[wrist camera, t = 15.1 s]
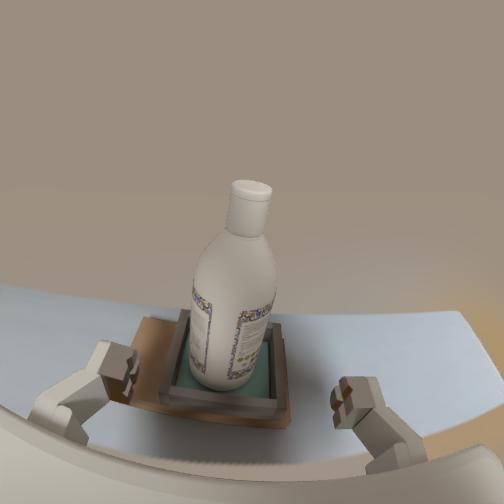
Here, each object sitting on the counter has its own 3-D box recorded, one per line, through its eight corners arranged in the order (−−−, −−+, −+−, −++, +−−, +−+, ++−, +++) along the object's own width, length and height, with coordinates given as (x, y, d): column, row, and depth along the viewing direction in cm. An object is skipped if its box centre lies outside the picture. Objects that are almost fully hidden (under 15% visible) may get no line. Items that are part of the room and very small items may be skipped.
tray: (116, 401, 25) (108, 378, 23) (144, 327, 36) (142, 301, 33) (285, 428, 26) (297, 409, 24) (279, 348, 37) (288, 324, 35)
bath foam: (256, 352, 33) (301, 184, 23) (246, 400, 27) (300, 213, 17) (199, 338, 33) (219, 167, 23) (180, 382, 27) (188, 188, 17)
